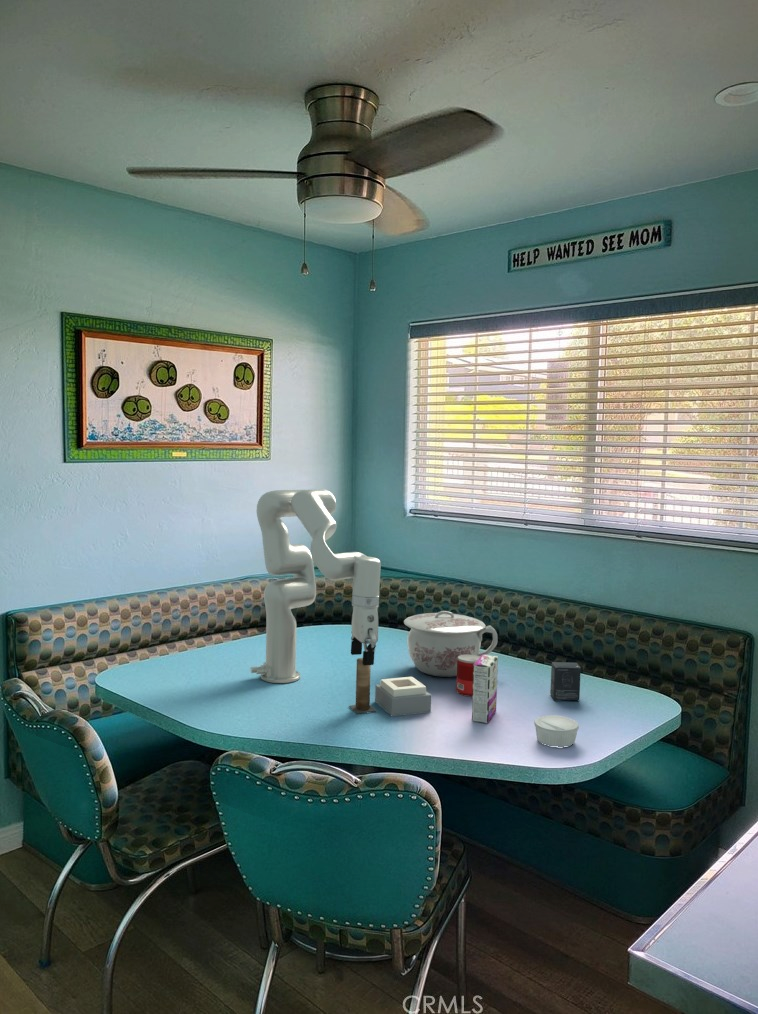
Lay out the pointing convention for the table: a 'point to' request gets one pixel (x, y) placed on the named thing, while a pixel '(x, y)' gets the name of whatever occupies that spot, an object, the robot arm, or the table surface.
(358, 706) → the brown rounded cylinder
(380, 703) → the grey white square holder
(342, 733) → the table surface
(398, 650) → the table surface
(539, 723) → the ramekin
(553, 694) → the box
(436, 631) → the chamber pot
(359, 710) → the coaster
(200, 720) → the table surface
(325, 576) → the robot arm
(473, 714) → the candy bar box
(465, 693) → the canned food
